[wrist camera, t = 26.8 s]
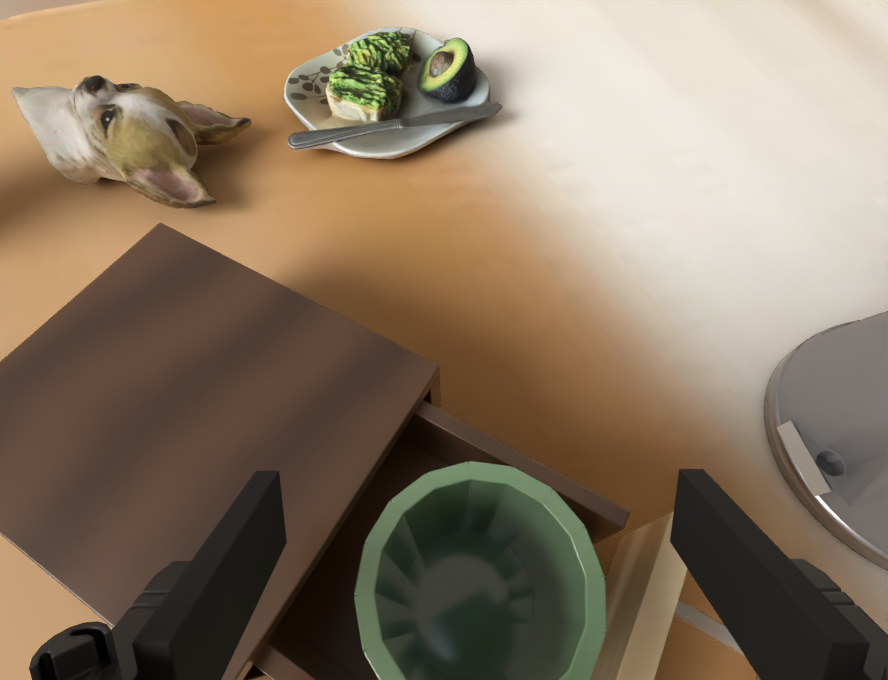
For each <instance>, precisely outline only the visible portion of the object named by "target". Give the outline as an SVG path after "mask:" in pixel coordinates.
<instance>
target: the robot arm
mask: <svg viewBox="0 0 888 680" xmlns="http://www.w3.org/2000/svg"><path fill="white" fill-rule="evenodd" d="M764 421H765V427H766V433H767V437H768V441H769V444H770V447H771V450H772V453H773V455H774V457H775V460H776V462H777V464H778V466H779V468H780V470H781V472H782V474H783V475H784V477H785V479H786V481H787V482H788V484H789V485H790V487H791V488H792V490H793V491H794V493H795V494H796V495H797V497H798V498H799V499H800V501H801V502H802V503H803V504H804V506H805V507H806V508H807V509H808V510H809V511H810V512H811V514H812V515H813V516H814V517H815V518H816V519H817V520H818V521H819V522H820V523H821V524H822V525H823V526H824V527H825V528H826V529H827V530H829V531H830V532H831V533H832V534H833V535H834V536H836V537H837V538H838V539H839V540H840V541H842V542H843V543H844V544H846V545H847V546H848V547H850V548H851V549H852V550H854V551H855V552H857V553H858V554H860V555H862V556H863V557H865V558H866V559H868V560H869V561H871V562H873V563H875V564H877V565H879V566H880V567H882V568H884V569H886V570H888V311H887V312H884V313H881V314H877V315H874V316H871V317H868V318H865V319H863V320H858V321H854V322H849V323H845V324H841V325H837V326H834V327H832V328H829V329H827V330H825V331H823V332H821V333H818V334H816V335H814V336H812V337H811V338H809V339H808V340H806V341H805V342H803V343H802V344H801V345H800V346H798V347H797V348H796V349H795V350H793V351H792V352H791V353H789V354H788V355H787V356H786V357H785V358H784V359H783V360H782V361H781V362H780V363H779V364H778V366H777V367H776V369H775V370H774V372H773V374H772V376H771V378H770V380H769V383H768V386H767V389H766V394H765V400H764ZM286 543H287V539H286V529H285V520H284V511H283V502H282V492H281V483H280V474H279V471H255V473H254V474H253V476H252V477H251V478H250V480H249V481H248V482H247V484H246V485H245V487H244V488H243V489H242V491H241V492H240V494H239V495H238V496H237V498H236V499H235V500H234V502H233V503H232V505H231V506H230V507H229V509H228V510H227V512H226V513H225V514H224V516H223V517H222V519H221V520H220V521H219V523H218V524H217V525H216V527H215V528H214V530H213V531H212V532H211V534H210V535H209V537H208V538H207V539H206V541H205V542H204V543H203V545H202V546H201V548H200V549H199V550H198V552H197V553H196V555H195V556H194V557H193V559H192V560H191V561H173V562H172V563H170V564H169V565H168V566H166V567H165V568H164V569H162V570H161V571H160V572H158V573H157V574H156V575H155V576H154V577H153V578H152V580H151V581H150V582H149V583H148V585H147V586H146V587H145V588H144V590H143V592H142V594H140V595H139V596H138V597H137V599H136V600H135V601H134V602H133V604H132V607H129V609H128V610H127V611H126V612H125V614H124V615H123V616H122V617H121V619H120V620H119V621H118V623H117V624H116V625H115V626H114V628H113V629H112V630H111V629H110V628H109V627H108V625H107V624H104V623H101V622H87V623H82V624H79V625H76V626H73V627H70V628H68V629H66V630H64V631H62V632H60V633H58V634H57V635H55V636H53V637H52V638H51V639H50V640H48V641H47V642H46V643H45V644H43V645H42V646H41V647H40V648H39V650H38V651H37V652H36V653H35V655H34V656H33V657H32V660H31V663H30V667H29V670H30V673H31V677H32V680H221V679H222V677H223V675H224V673H225V671H226V669H227V667H228V665H229V663H230V660H231V658H232V656H233V654H234V652H235V650H236V648H237V646H238V644H239V642H240V639H241V637H242V635H243V633H244V631H245V629H246V627H247V625H248V623H249V621H250V619H251V616H252V614H253V612H254V610H255V608H256V606H257V604H258V602H259V600H260V598H261V595H262V593H263V591H264V589H265V587H266V585H267V583H268V581H269V579H270V577H271V574H272V572H273V570H274V568H275V566H276V564H277V562H278V560H279V558H280V556H281V554H282V551H283V549H284V547H285V545H286ZM670 543H671V544H672V546H673V547H674V549H675V550H676V552H677V553H678V555H679V556H680V558H681V559H682V561H683V562H684V564H685V565H686V567H687V568H688V570H689V572H690V573H691V575H692V576H693V578H694V579H695V581H696V582H697V584H698V585H699V587H700V588H701V590H702V591H703V593H704V594H705V596H706V597H707V599H708V600H709V602H710V603H711V605H712V606H713V608H714V610H715V611H716V613H717V614H718V616H719V617H720V619H721V620H722V622H723V623H724V625H725V626H726V628H727V629H728V631H729V632H730V634H731V635H732V637H733V638H734V640H735V641H736V643H737V644H738V646H739V648H740V649H741V651H742V652H743V654H744V655H745V657H746V658H747V660H748V661H749V663H750V664H751V666H752V667H753V669H754V670H755V672H756V673H757V675H758V676H759V678H760V679H761V680H888V635H887V634H886V633H885V632H884V631H883V630H882V629H881V628H880V627H879V626H878V625H877V624H876V623H875V622H874V621H873V620H872V619H871V618H870V617H869V616H868V615H867V614H866V613H865V612H864V611H863V610H862V609H861V608H860V607H859V606H856V605H855V604H854V601H853V600H852V599H851V598H850V597H849V596H848V595H847V594H846V593H844V592H841V589H840V588H839V587H838V586H837V585H836V584H835V583H834V582H833V581H832V580H831V579H830V578H829V577H828V576H827V575H826V574H825V573H824V572H822V571H821V570H819V569H818V568H816V567H814V566H813V565H811V564H810V563H808V562H806V561H805V560H803V559H789V558H788V557H787V556H786V555H785V554H784V553H783V552H782V551H781V550H780V549H779V548H778V547H777V546H776V545H775V544H774V543H773V542H772V541H771V540H770V539H769V537H768V536H767V535H766V534H765V533H764V532H763V531H762V530H761V529H760V528H759V527H758V526H757V525H756V524H755V523H754V522H753V521H752V520H751V519H750V518H749V517H748V516H747V515H746V514H745V513H744V511H743V510H742V509H741V508H740V507H739V506H738V505H737V504H736V503H735V502H734V501H733V500H732V499H731V498H730V497H729V496H728V495H727V494H726V493H725V492H724V491H723V490H722V489H721V488H720V487H719V486H718V484H717V483H716V482H715V481H714V480H713V479H712V478H711V477H710V476H709V475H708V474H707V473H706V472H705V471H704V470H703V469H679V476H678V483H677V491H676V498H675V506H674V514H673V521H672V529H671V536H670Z"/></svg>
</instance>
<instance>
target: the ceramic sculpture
mask: <svg viewBox="0 0 888 680" xmlns="http://www.w3.org/2000/svg"><path fill="white" fill-rule="evenodd" d="M11 92H12V95H13V98H14V100H15V101H16V103H17V105H18V107H19V109H20V112H21V114H22V116H23V118H24V119H25V120H26V122H27V123H28V125H29V126H30V128H31V130H32V132H33V133H34V135H35V137H36V139H37V141H38V142H39V144H40V146H41V147H42V149H43V151H44V152H45V154H46V156H47V158H48V160H49V162H50V163H51V164H52V165H53V166H54V167H55V168H56V169H57V170H58V171H59V172H60V173H61V174H62V175H64V176H65V177H66V178H68V179H70V180H72V181H74V182H77V183H81V184H92V183H95V182H96V181H98V180H99V179H100V177H105V178H108V179H112V180H118V181H123V182H126V183H127V184H128V185H129V186H130V187H131V188H132V189H134V190H135V191H136V192H138V193H141V194H143V195H145V196H146V197H148V198H150V199H152V200H153V201H155V202H158V203H162V204H164V205H167V206H169V207H172V208H195V207H200V206H206V205H210V204H215V203H216V199H215V198H214V197H213V196H212V195H210V193H209V192H208V190H207V188H206V187H205V185H204V183H203V182H202V180H201V179H200V178H199V177H198V176H197V175H196V174H195V173H193V172H192V171H191V168H192V167H193V165H194V163H195V162H196V158H197V144H201V145H218V144H221V143H223V142H225V141H227V140H229V139H230V138H232V137H234V136H236V135H237V134H238V133H240V132H241V131H243V130H244V129H246V128H247V127H249V126H250V125H251V123H252V121H251V119H249V118H231V117H229V116H227V115H225V114H223V113H220V112H215V111H213V110H212V109H211V108H209V107H206V106H204V105H201V104H192V103H189V102H187V101H181V102H175V101H174V100H173V99H172V98H170V97H169V96H168V95H166V94H165V93H163V92H162V91H160V90H158V89H155V88H150V87H144V88H143V87H141V86H140V85H139V84H133V83H131V84H118V85H116V84H113V83H112V82H110V81H109V80H108V79H106V78H103V77H101V76H97V75H96V76H91V77H85V78H84V79H83V81H82V82H79V83H78V84H77V85H75V87H74V88H73V89H66V88H62V87H57V86H48V87H35V88H21V87H14V88H12V90H11Z"/></svg>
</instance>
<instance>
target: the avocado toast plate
mask: <svg viewBox="0 0 888 680" xmlns="http://www.w3.org/2000/svg"><path fill="white" fill-rule="evenodd" d="M283 100H284V101H285V103H286V105H287V106H288V107H289V108H290V109H291V111H292V112H293V113H294V114H295V116H296V117H297V118H298V119H299V120H300V121H301V122H302V123H303V124H304V125H305V126H306V127H307V128H308V129H309V130H310V131H304V132H297V133H294V134H292V135H290V136H289V138H288V145H289V147H290V148H291V149H294V150H310V149H328V150H334V151H338V152H341V153H345V154H348V155H351V156H353V157H361V158H375V159H394V158H398V157H401V156H405V155H407V154H410V153H413V152H415V151H417V150H419V149H421V148H423V147H425V146H427V145H428V144H430V143H432V142H433V141H435V140H437V139H439V138H441V137H443V136H445V135H446V134H449V133H451V132H453V131H455V130H457V129H459V128H460V127H462V126H464V125H466V124H469V123H472V122H475V121H478V120H481V119H484V118H486V117H489V116H492V115H494V114H496V113H497V112H498V111H499V110H500V109H501V108H502V107H503V106H502V105H501V104H499V103H497V102H494V103H490V86H489V81H488V79H487V77H486V75H485V74H484V73H483V72H482V71H481V70H480V69H479V68H477V67H476V66H475V63H474V57H473V54H472V52H471V49H470V47H469V45H468V44H467V43H466V42H465V41H464V40H462V39H461V38H453V39H451V40H446V41H445V43H444V44H442V43H440V42H439V41H438V40H436V39H435V38H433V37H432V36H430V35H428V34H426V33H424V32H422V31H420V30H416V29H412V28H403V27H393V28H381V29H376V30H372V31H370V32H367V33H365V34H363V35H360V36H359V37H357V38H355V39H353V40H351V41H349V42H347V43H345V44H343V45H341V46H340V47H338V48H335V49H333V50H331V51H330V52H328V53H325V54H322V55H319V56H317V57H316V58H313V59H311V60H309V61H307V62H305V63H303V64H301V65H300V66H298V67H296V68H295V69H294V70H293V71H292V72H291V73H290V75H289V76H288V78H287V81H286V85H285V89H284V92H283Z"/></svg>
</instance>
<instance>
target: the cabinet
mask: <svg viewBox="0 0 888 680" xmlns="http://www.w3.org/2000/svg"><path fill="white" fill-rule="evenodd" d="M423 400H424V401H426V402H428V403H430V404H431V405H433V406H435V407H437V408H439V409H441V400H440V374H439V366H438V365H436V364H434V363H432V362H430V361H428V360H427V359H425V358H423V357H421V356H419V355H417V354H415V353H413V352H411V351H409V350H407V349H405V348H403V347H401V346H399V345H397V344H395V343H393V342H392V341H390V340H388V339H386V338H384V337H382V336H380V335H378V334H376V333H374V332H372V331H370V330H368V329H366V328H364V327H362V326H360V325H359V324H357V323H355V322H353V321H351V320H349V319H347V318H345V317H343V316H341V315H339V314H337V313H335V312H333V311H331V310H329V309H327V308H325V307H324V306H322V305H320V304H318V303H316V302H314V301H312V300H310V299H308V298H306V297H304V296H302V295H300V294H298V293H296V292H294V291H292V290H290V289H289V288H287V287H285V286H283V285H281V284H279V283H277V282H275V281H273V280H271V279H269V278H267V277H265V276H263V275H261V274H259V273H257V272H256V271H254V270H252V269H250V268H248V267H246V266H244V265H242V264H240V263H238V262H236V261H234V260H232V259H230V258H228V257H226V256H224V255H222V254H221V253H219V252H217V251H215V250H213V249H211V248H209V247H207V246H205V245H203V244H201V243H199V242H197V241H195V240H193V239H191V238H189V237H187V236H186V235H184V234H182V233H180V232H178V231H176V230H174V229H172V228H170V227H168V226H166V225H164V224H162V223H159V224H158V225H157V226H156V227H154V228H153V229H152V230H151V231H150V232H149V233H148V234H146V235H145V236H144V237H143V238H142V239H141V240H139V241H138V242H137V243H136V244H135V245H134V246H133V247H131V248H130V249H129V250H128V251H127V252H126V253H125V254H123V255H122V256H121V257H120V258H119V259H118V260H117V261H115V262H114V263H113V264H112V265H111V266H110V267H109V268H107V269H106V270H105V271H104V272H103V273H102V274H101V275H99V276H98V277H97V278H96V279H95V280H94V281H93V282H91V283H90V284H89V285H88V286H87V287H86V288H85V289H83V290H82V291H81V292H80V293H79V294H78V295H77V296H75V297H74V298H73V299H72V300H71V301H70V302H69V303H67V304H66V305H65V306H64V307H63V308H62V309H61V310H59V311H58V312H57V313H56V314H55V315H54V316H53V317H51V318H50V319H49V320H48V321H47V322H46V323H44V324H43V325H42V326H41V327H40V328H39V329H38V330H36V331H35V332H34V333H33V334H32V335H31V336H30V337H28V338H27V339H26V340H25V341H24V342H23V343H22V344H20V345H19V346H18V347H17V348H16V349H15V350H14V351H12V352H11V353H10V354H9V355H8V356H7V357H6V358H4V359H3V360H2V361H1V362H0V534H1V535H2V536H3V537H4V538H6V539H7V540H8V541H9V542H10V543H12V544H13V545H14V546H15V547H16V548H18V549H19V550H20V551H21V552H22V553H24V554H25V555H26V556H27V557H28V558H30V559H31V560H32V561H33V562H34V563H36V564H37V565H38V566H39V567H40V568H42V569H43V570H44V571H45V572H46V573H48V574H49V575H50V576H51V577H53V578H54V579H55V580H56V581H57V582H59V583H60V584H61V585H62V586H63V587H65V588H66V589H67V590H68V591H69V592H71V593H72V594H73V595H74V596H75V597H77V598H78V599H79V600H80V601H81V602H83V603H84V604H85V605H86V606H87V607H89V608H90V609H91V610H92V611H93V612H95V613H96V614H97V615H98V616H100V617H101V618H102V619H103V620H104V621H106V622H107V623H108V624H109V625H110V626H112V627H113V628H114V626H115V625H116V624H117V623H118V621H119V620H120V619H121V617H122V616H123V615H124V614H125V612H126V611H127V610H128V609H129V607H132V604H133V602H134V601H135V600H136V599H137V597H138V596H139V595H140V594H142V592H143V590H144V588H145V587H146V586H147V585H148V583H149V582H150V581H151V580H152V578H153V577H154V576H155V575H156V574H157V573H158V572H160V571H161V570H162V569H164V568H165V567H166V566H168V565H169V564H170V563H172V562H173V561H191V560H192V559H193V557H194V556H195V555H196V553H197V552H198V550H199V549H200V548H201V546H202V545H203V543H204V542H205V541H206V539H207V538H208V537H209V535H210V534H211V532H212V531H213V530H214V528H215V527H216V525H217V524H218V523H219V521H220V520H221V519H222V517H223V516H224V514H225V513H226V512H227V510H228V509H229V507H230V506H231V505H232V503H233V502H234V500H235V499H236V498H237V496H238V495H239V494H240V492H241V491H242V489H243V488H244V487H245V485H246V484H247V482H248V481H249V480H250V478H251V477H252V476H253V474H254V473H255V471H279V474H280V483H281V492H282V502H283V511H284V520H285V529H286V539H287V543H286V545H285V547H284V549H283V551H282V554H281V556H280V558H279V560H278V562H277V564H276V566H275V568H274V570H273V572H272V574H271V577H270V579H269V581H268V583H267V585H266V587H265V589H264V591H263V593H262V595H261V598H260V600H259V602H258V604H257V606H256V608H255V610H254V612H253V614H252V616H251V619H250V621H249V623H248V625H247V627H246V629H245V631H244V633H243V635H242V637H241V639H240V642H239V644H238V646H237V648H236V650H235V652H234V654H233V656H232V658H231V660H230V663H229V665H228V667H227V669H226V671H225V673H224V675H223V677H222V679H221V680H272V679H271V678H270V677H268V676H267V675H266V674H265V673H263V672H262V671H261V670H259V669H258V668H257V667H256V666H254V665H253V663H254V662H255V660H256V659H257V657H258V656H259V654H260V652H261V651H262V649H263V648H264V646H265V645H266V643H267V642H268V640H269V638H270V637H271V635H272V634H273V632H274V631H275V629H276V628H277V626H278V624H279V623H280V621H281V620H282V618H283V617H284V615H285V614H286V612H287V611H288V609H289V607H290V606H291V604H292V603H293V601H294V600H295V598H296V597H297V595H298V593H299V592H300V590H301V589H302V587H303V586H304V584H305V583H306V581H307V579H308V578H309V576H310V575H311V573H312V572H313V570H314V569H315V567H316V565H317V564H318V562H319V561H320V559H321V558H322V556H323V555H324V553H325V551H326V550H327V548H328V547H329V545H330V544H331V542H332V541H333V539H334V537H335V536H336V534H337V533H338V531H339V530H340V528H341V527H342V525H343V523H344V522H345V520H346V519H347V517H348V516H349V514H350V513H351V511H352V509H353V508H354V506H355V505H356V503H357V502H358V500H359V499H360V497H361V495H362V494H363V492H364V491H365V489H366V488H367V486H368V485H369V483H370V482H371V480H372V478H373V477H374V475H375V474H376V472H377V471H378V469H379V468H380V466H381V464H382V463H383V461H384V460H385V458H386V457H387V455H388V454H389V452H390V450H391V449H392V447H393V446H394V444H395V443H396V441H397V440H398V438H399V436H400V435H401V433H402V432H403V430H404V429H405V427H406V426H407V424H408V422H409V421H410V419H411V418H412V416H413V415H414V413H415V412H416V410H417V408H418V407H419V405H420V404H421V402H422V401H423Z"/></svg>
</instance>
